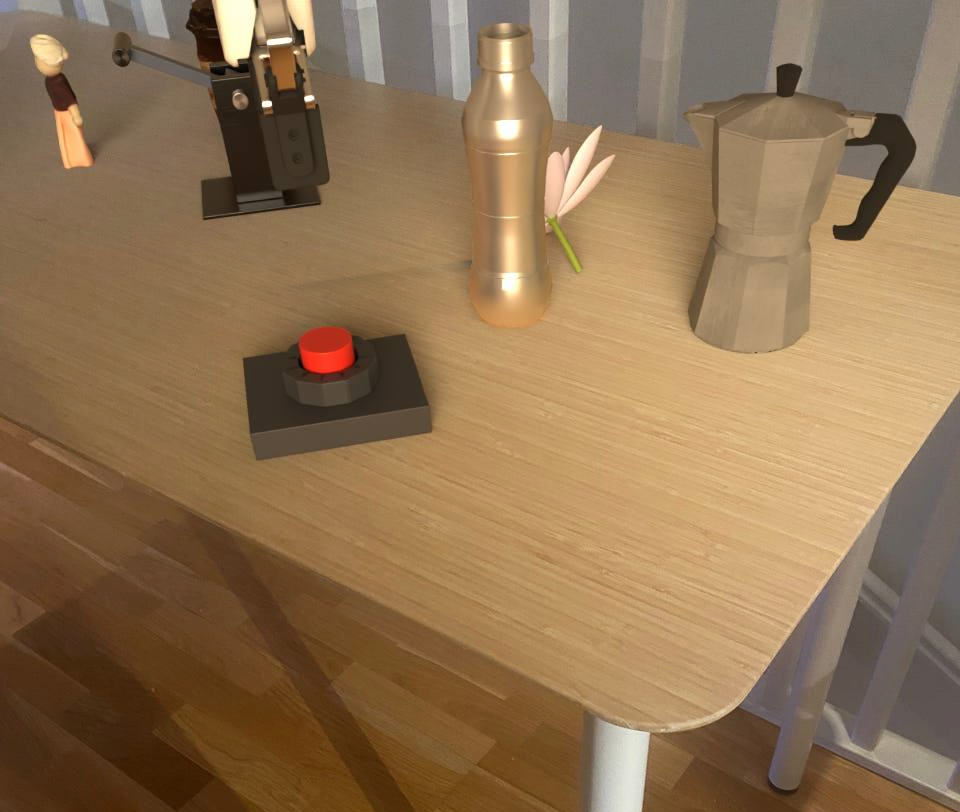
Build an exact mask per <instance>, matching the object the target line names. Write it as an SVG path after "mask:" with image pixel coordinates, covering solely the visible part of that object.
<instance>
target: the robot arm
mask: <svg viewBox="0 0 960 812" xmlns="http://www.w3.org/2000/svg"><path fill="white" fill-rule="evenodd" d="M212 3H213V8H214V12H215V17H216V21H217V26H218V31H219V35H220V40H221V44H222V49H223V53H224V58H225V60H226V61H227V62H228V63H229V64H231V65H232V66H234V67H238V61H237V59H244V58H248V59H247V63H248V68H249V73H250V78H251V83H252V88H253V93H254V98H255V103H256V108H257V113H258V118H259V123H260V127H261V128H262V132H263V137H264V142H265V147H266V152H267V157H268V162H269V167H270V172H271V177H272V182H273V186H274V187H275V189H277V190H279V191H282V190H289V189H296V188H303V187H310V186H323V185H326V184H328V183H329V182H330V179H331V174H330V168H329V161H328V155H327V148H326V143H325V136H324V135H325V134H324V130H323V124H322V117H321V111H320V106H319V103H315V95H314V90H313V85H312V79H311V75H310V70H309V65H308V61H307V60H308V58H309V57H310V56H311V55H312V54H313V53H314V51H315V50H316V48H317V43H316V31H315V20H314V8H313V0H212ZM249 53H250V57H252V58H249Z"/></svg>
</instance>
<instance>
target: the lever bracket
mask: <svg viewBox="0 0 960 812" xmlns="http://www.w3.org/2000/svg"><path fill="white" fill-rule="evenodd" d="M237 61H238V67H234V66H232V65H231V64H229V63H228V62H227V61H224V62H215V63H209V68H210V72H211V73H213V74H216V75H218V76H214V77H210V80H211V85H212V90H213V94H214V99H215V104H216V108H217V113H218V117H219V121H218V123H219V122H220V124H219V127H220V126H221V128H220V132H221V131H222V132H221V135H222V141H223V144H224V148H225V149H224V150H225V153H226V158H227V163H228V168H229V171H230V176H226V177H225V176H223V177H217V178H209V179H202V180H200V189H201V210H202V220H203V221H208V220H217V219H224V218H232V217H238V216H245V215H246V216H247V215H253V214H261V213H270V212H277V211H285V210H293V209H300V208H305V207H306V208H307V207H308V208H309V207H314V206H321V205H322V203H321V198H320V194H319V191H318V187H317V186H318V185H317V186H310V187H303V188H296V189H289V190H282V191H279V190H277V189H275V187H274V186H273V182H272V177H271V172H270V167H269V162H268V157H267V152H266V147H265V142H264V137H263V132H262V128H261V127H260V123H259V118H258V113H257V108H256V103H255V98H254V93H253V88H252V83H251V78H250V73H249V68H248V63H247V59H242V60H237ZM226 68H228V69H231V70H234V71H236V72H239V73H240V74H231V75H224V74H225V69H226Z"/></svg>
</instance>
